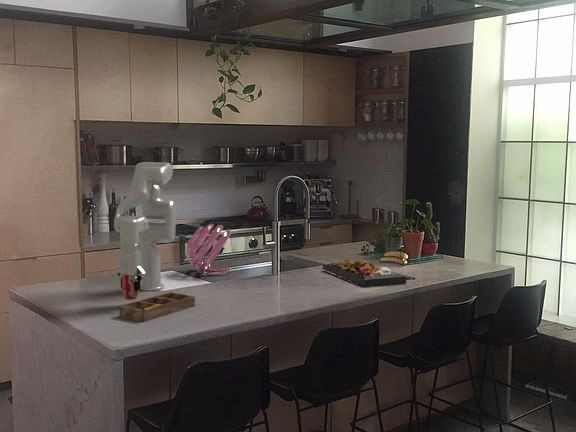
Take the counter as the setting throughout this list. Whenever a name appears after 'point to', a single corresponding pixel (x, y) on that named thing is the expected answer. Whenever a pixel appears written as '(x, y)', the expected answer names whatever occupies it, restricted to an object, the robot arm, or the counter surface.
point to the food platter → (365, 273)
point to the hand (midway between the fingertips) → (130, 288)
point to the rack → (156, 306)
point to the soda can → (129, 288)
